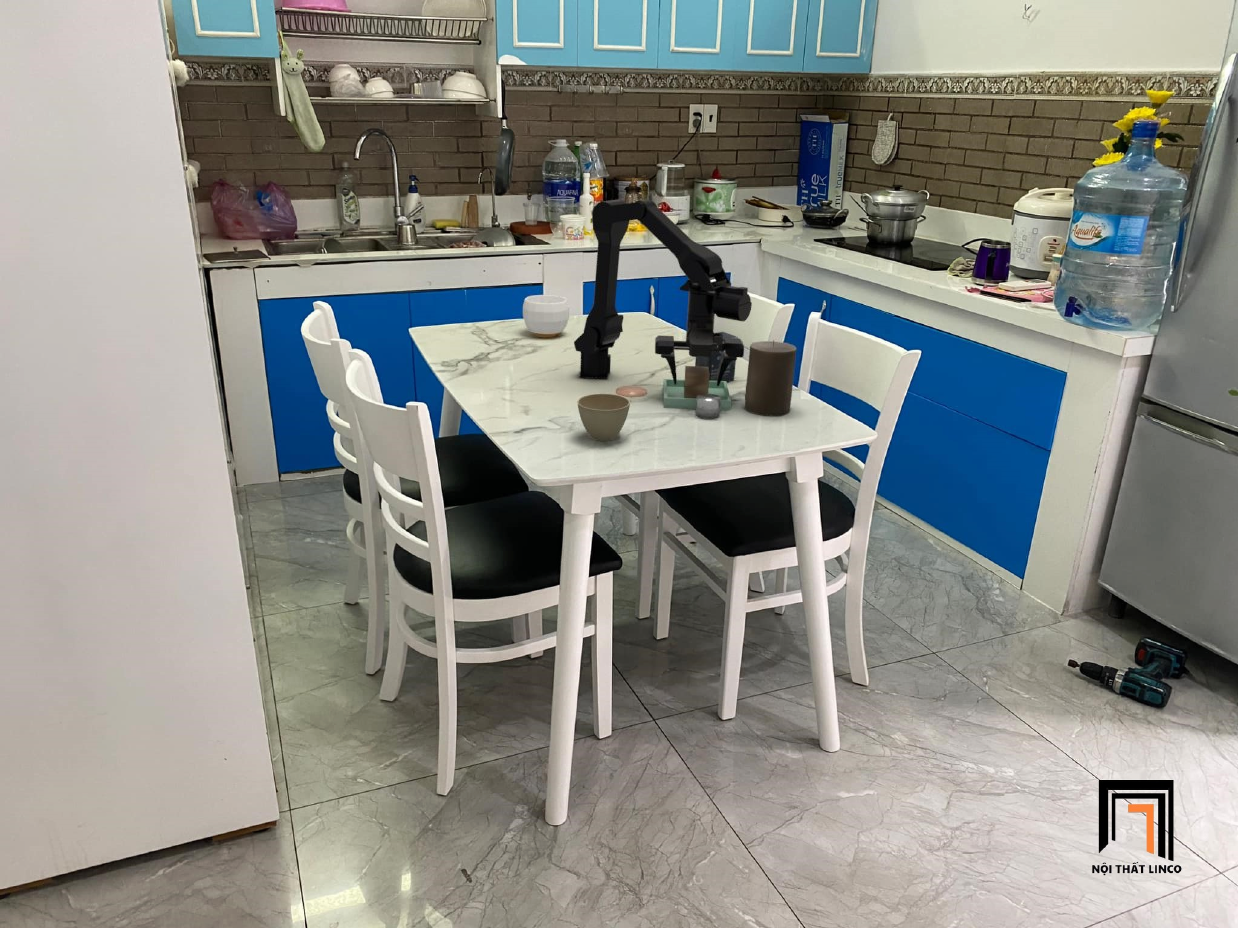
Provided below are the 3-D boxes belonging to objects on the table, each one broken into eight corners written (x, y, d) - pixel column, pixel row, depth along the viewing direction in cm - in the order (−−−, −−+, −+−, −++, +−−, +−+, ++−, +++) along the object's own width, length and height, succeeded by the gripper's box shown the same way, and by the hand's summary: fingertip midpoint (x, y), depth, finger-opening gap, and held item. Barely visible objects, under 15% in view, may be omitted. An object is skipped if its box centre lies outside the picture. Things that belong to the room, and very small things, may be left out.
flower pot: (575, 427, 185) (576, 393, 182) (626, 427, 185) (627, 393, 183) (578, 446, 175) (578, 409, 173) (631, 445, 176) (632, 409, 174)
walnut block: (684, 399, 202) (686, 372, 199) (683, 392, 206) (685, 365, 204) (707, 400, 201) (709, 373, 199) (706, 393, 206) (708, 366, 204)
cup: (567, 341, 246) (567, 305, 243) (520, 340, 246) (520, 303, 243) (570, 330, 258) (570, 295, 254) (525, 328, 258) (525, 293, 254)
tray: (663, 407, 198) (664, 398, 197) (663, 387, 211) (663, 378, 210) (730, 410, 198) (731, 400, 197) (725, 390, 210) (726, 381, 210)
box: (708, 385, 214) (711, 340, 210) (693, 379, 218) (696, 334, 214) (735, 380, 218) (738, 336, 214) (719, 374, 222) (723, 330, 218)
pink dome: (615, 398, 204) (615, 394, 204) (616, 388, 211) (616, 385, 210) (647, 399, 204) (647, 395, 204) (647, 389, 211) (647, 386, 210)
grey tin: (696, 419, 192) (697, 400, 190) (695, 411, 196) (696, 393, 195) (720, 420, 192) (721, 401, 190) (718, 412, 196) (720, 394, 195)
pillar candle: (780, 419, 193) (788, 348, 188) (736, 410, 197) (743, 340, 192) (796, 407, 201) (804, 339, 196) (753, 399, 205) (760, 332, 200)
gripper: (657, 321, 190) (653, 394, 196) (749, 324, 189) (743, 398, 195) (656, 309, 200) (653, 379, 206) (744, 312, 200) (738, 382, 206)
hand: (696, 385), depth 203 cm, fingers open, 9 cm apart
